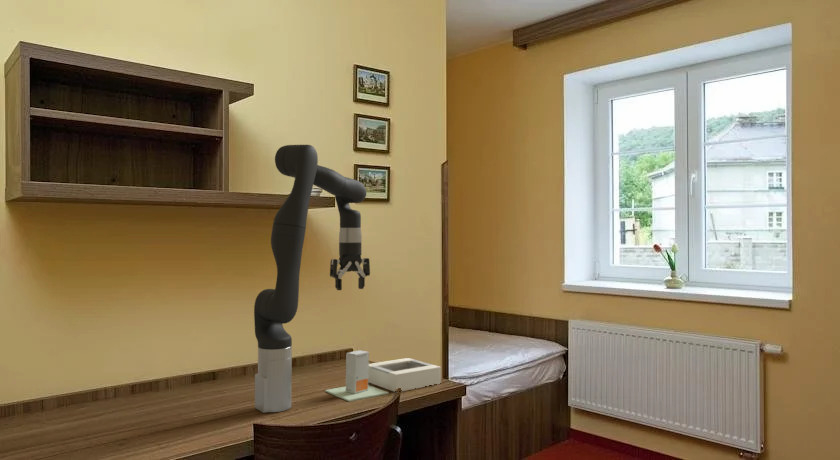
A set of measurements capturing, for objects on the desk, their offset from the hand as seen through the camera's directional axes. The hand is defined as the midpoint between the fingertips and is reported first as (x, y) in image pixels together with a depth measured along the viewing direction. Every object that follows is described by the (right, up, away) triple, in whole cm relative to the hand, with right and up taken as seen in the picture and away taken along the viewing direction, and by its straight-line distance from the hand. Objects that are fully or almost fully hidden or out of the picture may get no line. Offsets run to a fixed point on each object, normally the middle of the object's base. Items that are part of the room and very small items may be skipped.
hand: (350, 289), depth 201 cm
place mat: (+4, -30, -17) cm, 35 cm away
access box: (+18, -30, -4) cm, 35 cm away
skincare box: (+4, -30, -17) cm, 35 cm away
